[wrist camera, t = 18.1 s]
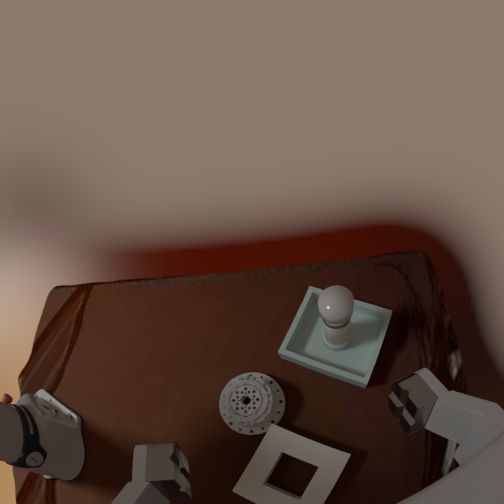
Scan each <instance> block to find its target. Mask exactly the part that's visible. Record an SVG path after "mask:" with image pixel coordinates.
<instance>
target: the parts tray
mask: <svg viewBox="0 0 504 504" xmlns="http://www.w3.org/2000/svg"><path fill="white" fill-rule="evenodd" d="M323 291H324V290H321V289H318V288H314V287H311V286H310V287H309V289H308V291H307V293H306V296H305V298H304V300H303V302H302V304H301V306H300V308H299V310H298V312H297V315H296V317H295V319H294V321H293V323H292V325H291V327H290V329H289V331H288V333H287V335H286V337H285V339H284V341H283V343H282V345H281V347H280V349H279V351H278V353H279V355H280V357H281V358H283V359H285V360H288V361H290V362H293V363H295V364H298V365H300V366H303V367H306V368H308V369H311V370H314V371H316V372H319V373H322V374H325V375H328V376H330V377H333V378H336V379H339V380H342V381H345V382H348V383H351V384H353V385H356V386H360V387H363V388H365V387H366V385H367V383H368V381H369V378H370V376H371V373H372V370H373V368H374V365H375V362H376V360H377V357H378V354H379V351H380V348H381V345H382V342H383V339H384V336H385V333H386V330H387V327H388V324H389V321H390V318H391V314H392V310H388V309H385V308H382V307H378V306H375V305H371V304H368V303H365V302H361V301H358V300H354V310H353V314H352V316H351V321H350V328H351V331H352V334H351V341H350V344H349V345H348V346H347V347H346V348H345V349H343V350H341V351H332V350H330V349H328V348H327V347H326V346H325V344H324V342H323V335H322V333H323V329H324V327H323V320H322V318H321V316H320V313H319V307H318V299H319V296H320V294H321V293H322V292H323Z"/></svg>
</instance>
